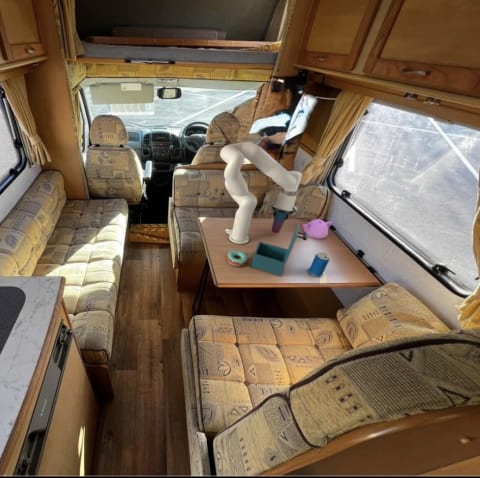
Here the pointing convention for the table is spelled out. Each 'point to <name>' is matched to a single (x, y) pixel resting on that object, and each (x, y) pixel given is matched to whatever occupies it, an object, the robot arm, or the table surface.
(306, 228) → the teapot
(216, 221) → the table surface
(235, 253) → the donut
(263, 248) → the cool box
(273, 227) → the cup
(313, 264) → the beverage can
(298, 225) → the cool box lid
